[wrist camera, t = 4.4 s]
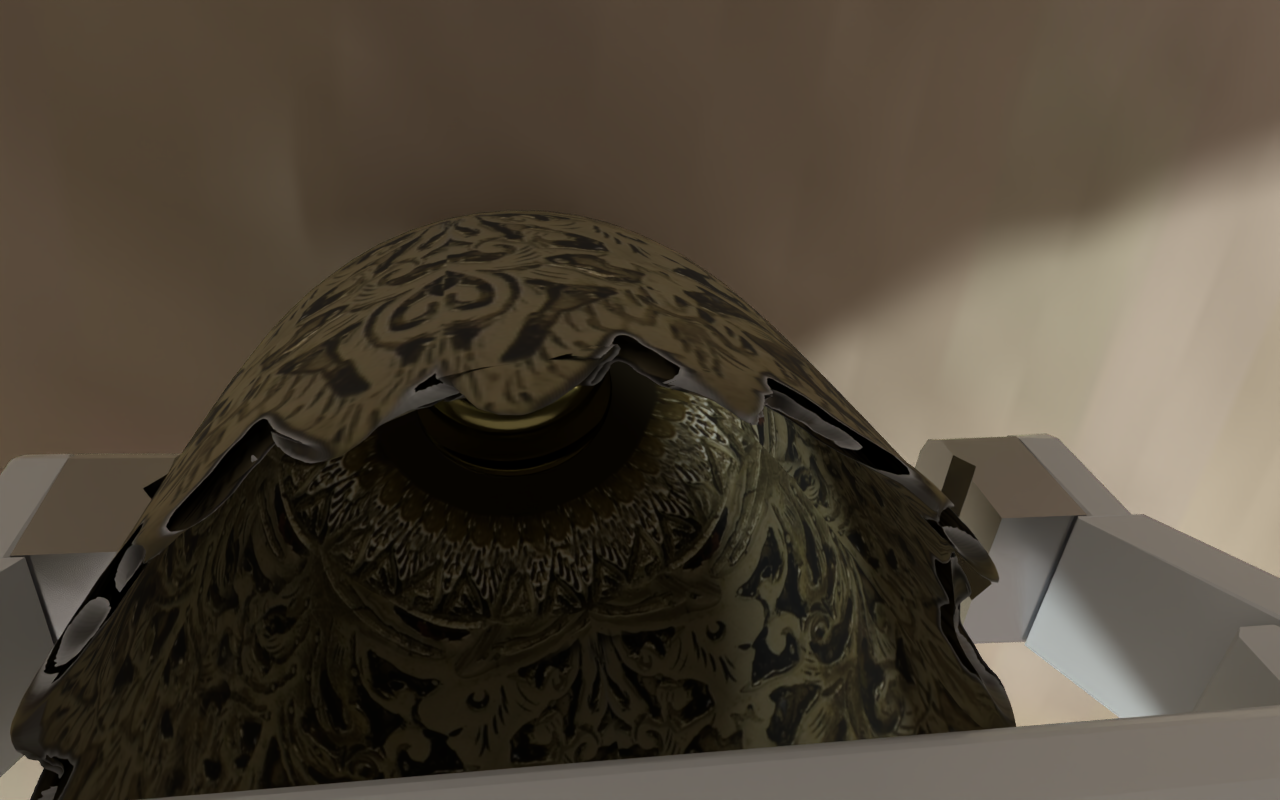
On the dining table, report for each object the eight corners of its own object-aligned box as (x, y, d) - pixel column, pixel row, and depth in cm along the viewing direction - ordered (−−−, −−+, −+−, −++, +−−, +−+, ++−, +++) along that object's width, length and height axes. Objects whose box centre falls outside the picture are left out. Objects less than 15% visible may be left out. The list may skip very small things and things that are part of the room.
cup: (778, 468, 16) (1020, 938, 9) (354, 583, 16) (286, 1156, 9) (710, 11, 12) (1054, 260, 5) (136, 156, 12) (-288, 616, 5)
